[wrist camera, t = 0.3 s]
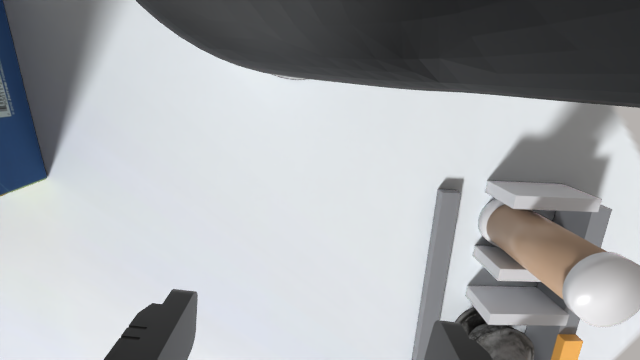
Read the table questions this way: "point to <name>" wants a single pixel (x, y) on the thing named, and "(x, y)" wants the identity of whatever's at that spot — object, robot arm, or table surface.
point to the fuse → (566, 264)
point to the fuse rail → (512, 268)
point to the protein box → (15, 122)
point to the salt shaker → (496, 338)
